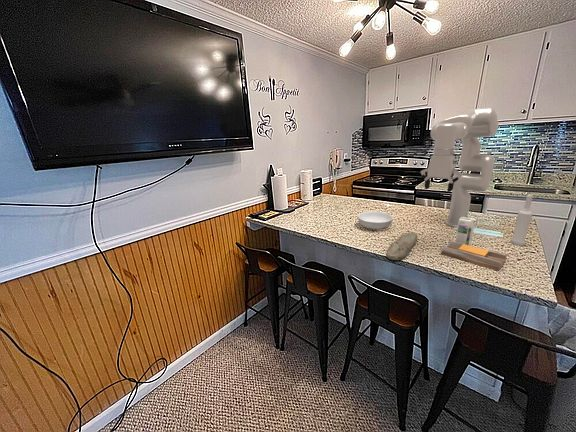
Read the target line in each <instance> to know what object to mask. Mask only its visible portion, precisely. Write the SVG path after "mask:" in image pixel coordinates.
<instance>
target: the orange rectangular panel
mask: <svg viewBox="0 0 576 432" xmlns="http://www.w3.org/2000/svg"><path fill="white" fill-rule="evenodd" d="M458 250H460V251H464V252H468V253H471V254H475V255H479V256H482V257H485V256H486V255H487V254H488V253H489V251H490V250H489V249H485V248H481V247H478V246H477V247H476V246H474V247H473V245H470V246H469V245H465V244H463V245H462V246H461V247H460V248H458Z"/></svg>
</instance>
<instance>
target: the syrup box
mask: <svg viewBox="0 0 576 432" xmlns="http://www.w3.org/2000/svg"><path fill="white" fill-rule="evenodd" d="M476 219H477V218H472V217H467V218H466V217H461V218H460V219H459V222H458V228H457V227H456V228H457V229H456V235H455V240H454V242H458V243H462V244H466V245H470V246H472V245H471V244H472V240H473V234H474V231H475V230H474V229H475V224H476Z"/></svg>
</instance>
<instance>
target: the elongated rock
mask: <svg viewBox="0 0 576 432" xmlns="http://www.w3.org/2000/svg"><path fill="white" fill-rule="evenodd" d="M418 239H419V235H418V234H417V233H416V232H413V231H412V232H411V231H409V232H405V233H403V234H402V235H401V236H399V237H398V238H397V239H396V240H395V241H394V242H391V244H390V245H389V247H388V248H387V249H386V250H387V251H386V257H387V259H389V260H392V261H393V260H394V261H400V260H401V259H402V260H403V259H404V258H405V257H406V256H408V255H409V253H410V251H411V250H412V247H414V246H415V245H416V242H417V241H418Z"/></svg>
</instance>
